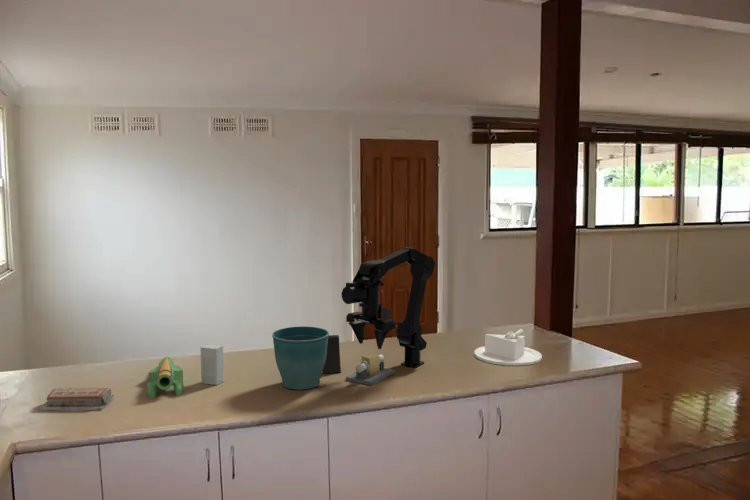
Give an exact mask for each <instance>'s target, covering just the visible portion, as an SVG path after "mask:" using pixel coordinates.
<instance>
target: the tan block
mask: <svg viewBox="0 0 750 500" xmlns="http://www.w3.org/2000/svg"><path fill="white" fill-rule="evenodd" d="M378 355H379V354H378ZM378 355H377V354H374V353H368V354H365V355H361V362H363V361H366V362H367V363H368V364H369V369H368V370H367V376H372V375H376V374H379V373H380V356H378Z"/></svg>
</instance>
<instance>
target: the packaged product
mask: <svg viewBox="0 0 750 500" xmlns="http://www.w3.org/2000/svg"><path fill="white" fill-rule="evenodd" d="M114 400H115V396H114V394H112V388H108V387H58V388H53V389H51V392H49V394H48V395H47V397H46V402H45V403H43V404H42V405H41V406H39V407H38V411H39V412H45V411H47V412H48V411H54V412H55V411H56V412H58V411H59V412H60V411H61V412H64V411H67V412H68V411H70V412H71V411H72V412H74V411H75V412H76V411H77V412H80V411H103V410H104V409H105V408H106V407H107V406H109V404H110V403H112V402H113V401H114Z"/></svg>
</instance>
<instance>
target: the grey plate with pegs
mask: <svg viewBox="0 0 750 500" xmlns="http://www.w3.org/2000/svg"><path fill="white" fill-rule="evenodd" d="M378 356H380V373H379V374H376V375H372V376H367V370H368V369H369V364H368V363H367V362H366V361H363V362H362V361H361V362H360V363H359V364H358V365H356V366H355V372H353V373H351V374H350V375H348V376H346V377H345V381H349V382H353V383H359V384H365V385H369V386H374V385H375V384H377V383H378V381H379V382H380V381H382V380H385V378H387V377H389V376H391V375H393V374H394V373H395V369H392V368H386V367H385V362H384V360H385V356H384V354H378Z"/></svg>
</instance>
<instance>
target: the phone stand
mask: <svg viewBox="0 0 750 500" xmlns="http://www.w3.org/2000/svg"><path fill="white" fill-rule="evenodd" d="M340 350H341V349H340V336H339V335H338V334H335V335H330V334H329V336H328V344H327V355H326V361H325V364H324V367H323V370H322V373H323V374H324V375H325V374H337V373H338V374H340V373H341V371H342V370H341V369H342V368H341V354H340Z"/></svg>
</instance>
